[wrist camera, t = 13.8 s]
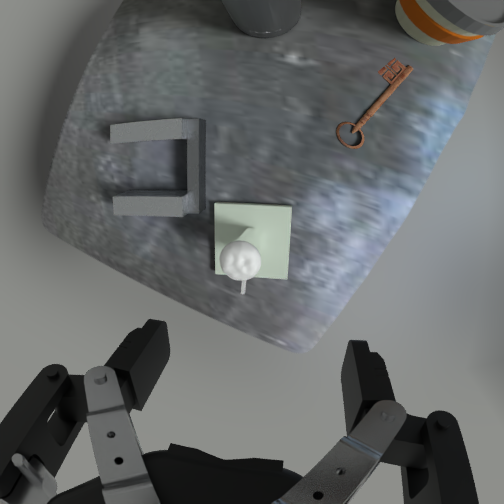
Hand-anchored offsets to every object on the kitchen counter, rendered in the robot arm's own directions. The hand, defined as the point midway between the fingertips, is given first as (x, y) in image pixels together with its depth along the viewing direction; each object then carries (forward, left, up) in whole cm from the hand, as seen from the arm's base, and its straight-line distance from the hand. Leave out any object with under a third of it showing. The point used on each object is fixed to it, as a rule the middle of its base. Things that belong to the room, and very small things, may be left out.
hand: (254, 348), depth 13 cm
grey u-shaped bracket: (-5, -17, -30) cm, 35 cm away
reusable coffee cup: (-29, +19, -30) cm, 46 cm away
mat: (+5, -4, -30) cm, 30 cm away
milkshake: (+5, -4, -29) cm, 29 cm away
